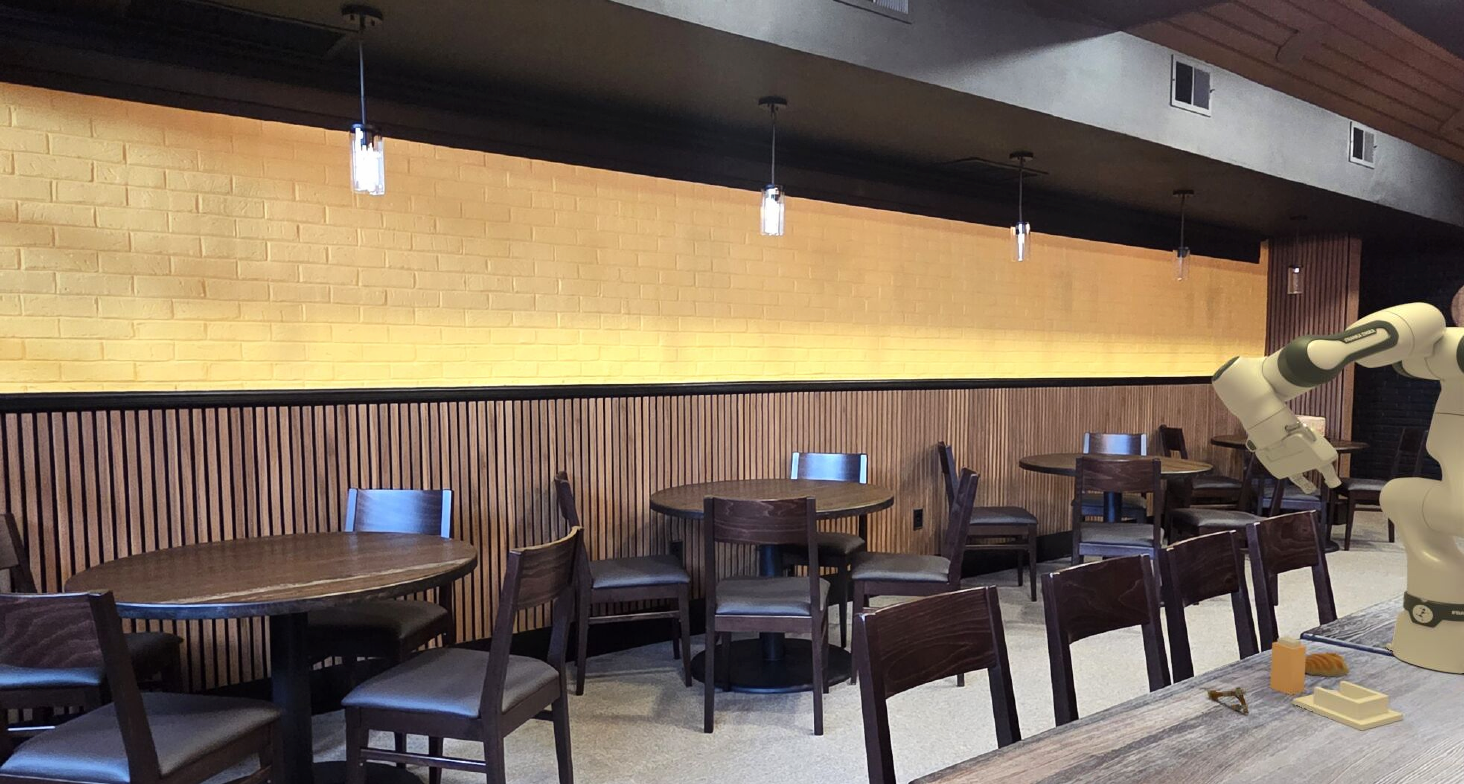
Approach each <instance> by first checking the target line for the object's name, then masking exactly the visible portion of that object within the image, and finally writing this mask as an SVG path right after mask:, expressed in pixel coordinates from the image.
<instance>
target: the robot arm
mask: <svg viewBox="0 0 1464 784" xmlns="http://www.w3.org/2000/svg"><path fill="white" fill-rule="evenodd" d="M1352 363H1357V364H1358V365H1361V366H1362V367H1366V368H1370V369H1371V368H1379V367H1384V366H1389V365H1392V368H1393V369H1394V370H1395V371H1396V372H1397V373H1398V374H1399V375H1402V376H1404V377H1408V378H1412V379H1427V380H1435V381H1436V380H1437V381H1439V383H1440V387H1441V391H1440V392H1439V396H1438V399H1437V401H1436V403H1435V407H1434V411H1433V414H1432V419H1431V423H1430V427H1429V430H1428V434H1427V439H1426V442H1425V443H1426V444H1425V448H1426V451H1427V453H1428V455H1430V457H1432V458H1433V459H1434V460H1436V461H1437V462H1438V463H1439V465H1440V469H1441V475H1442V477H1441V480H1437V479H1431V478H1425V477H1424V478H1423V477H1419V476H1418V477H1399V478H1393V479H1391V480H1389V481H1388V482H1387V483H1386V484H1385V485H1384V486H1383V487H1382V489H1381V490H1380V493H1379V505H1380V509H1381V511H1382V513H1383V514H1384V515H1385V516H1386V518H1388V519H1389V520H1390V521H1391V522H1392V523H1393V525H1394V527H1395V528H1396V530H1397V532H1398V534H1399V535H1400V538H1401V540H1402V543H1403V546H1404V549H1405V553H1406V564H1407V565H1406V567H1407V569H1406V572H1407V573H1406V574H1407V575H1406V576H1407V577H1406V590H1405V591H1404V593H1403V597H1402V602H1403V603H1402V608H1403V609H1404V610H1403V611H1401V612H1399V613H1397V614H1396V619H1395V625H1394V631H1393V637H1392V642H1387V643H1386V647H1387V648H1388V649H1389V650H1388V649H1387V648H1386V647H1385V648H1386V649H1387V650H1388V651H1390V650H1392V651H1393V652H1392V651H1391V652H1392V654H1393V656H1395V657H1396V658H1397V659H1399V660H1401V661H1403V662H1406V663H1409V664H1411V665H1415V666H1419V667H1422V668H1425V669H1429V670H1434V671H1438V672H1445V673H1452V674H1462V673H1464V553H1463V552H1462V551H1461V550H1460V548H1459V547H1458V545H1457V544H1456V541H1455V539H1454V536H1455V537H1459V538H1462V539H1463V538H1464V326H1462V327H1460V326H1459V327H1457V326H1455V327H1453V326H1452V327H1447V326H1446V319H1445V316H1444V315H1443V314H1442V312H1441V311H1440V309H1438V308H1437V307H1435V305H1432V304H1430V303H1426V302H1412V303H1404V304H1399V305H1395V306H1391V307H1388V308H1384V309H1381V310H1378V311H1375V312H1373V313H1370V314H1368V315H1366V316H1364V317H1362V318H1361V319H1358V320H1357V321H1355V322H1354V323H1352V324H1351V325H1349V326H1348V327H1347V328H1346V329H1345V330H1344V331H1341V332H1337V333H1335V334H1334V333H1333V334H1304V335H1300V336H1298V337H1295V338H1294V339H1293V340H1291V341H1290V342H1289V343H1287V344H1286V345H1285V346H1284V347H1281V348H1279V350H1277V351H1276V352H1274V353H1272V354H1271V355H1269V356H1268V355H1266V356H1261V357H1244V356H1242V355H1238V356H1235V357H1233V358H1231V359H1230V360H1228V361H1226V363H1224V364H1223V365H1221V366H1220V367H1219V368H1218V369H1217V370H1216V371H1215V372H1214V373H1213V375H1212V377H1211V384H1212V387H1213V388H1214V391H1215V393H1216V394H1217V396H1218V397H1219V398H1220V400H1221V401H1222V403H1223V404H1224V405H1225V407H1226V408H1227V409H1228V411H1229V412H1230V413H1231V414H1232V415H1234V416H1235V417H1236V418H1238V420H1239V422H1241V425H1242V427H1243V429H1244V430H1245V432H1246V433H1247V434H1248V436H1247V439H1246V442H1245V446H1246V448H1247V449H1248V451H1250V452H1252V453H1254V452H1255V453H1254V454H1255V456H1256V457H1257V459H1258V460H1259V462H1260V463H1261V464H1262V465H1263V466H1264V467H1265V468H1266V469H1267V471H1268V472H1269V473H1270V474H1271V475H1272V476H1274V477H1275V478H1277V479H1278V480H1282V479H1285V478H1289V480H1290V481H1291V482H1292V483H1294V484H1295V485H1297V486H1298V487H1300V489H1301V490H1302V491H1303V492H1304V493H1305V494H1306V495H1309V494H1311V493H1314V492H1316V490H1317V487H1316V485H1315V484H1314V483H1313V482H1312V481H1310V480H1308V479H1307V478H1306V477H1305V476H1304V474H1303V473H1305V472H1309V471H1312V470H1316V471H1318V472H1319V474H1322V476H1323V478H1324V479H1325V480H1324V483H1325V484H1326V485H1327V486H1328V488H1329V489H1333V488H1337V487H1338V486H1340V485H1341V484H1342V481H1341V479H1339V477H1338V476H1337V474H1336V470H1335V468H1334V465H1333V464H1332V463H1333V462H1334V461H1336V460H1337V459H1338V458H1339V454H1338V452H1337V450H1336V449H1335V447H1333V445H1332V444H1331V443H1330V442H1329V441H1328V440H1327V439H1326V438H1325V437H1324V436H1323V435H1322V434H1321V433H1320V432H1319V431H1318V430H1317V429H1316V428H1314V427H1312V426H1309V425H1307V424H1304V423H1302V421H1300V419H1299V418H1298V416H1296V414H1295V413H1294V412H1293V410H1291V408H1290V407H1289V406H1288V404H1286V402H1288V401H1291V400H1293V399H1296V398H1297V397H1299V396H1301V395H1303V394H1305V393H1307V392H1309V391H1310V390H1312V389H1315V388H1318V387H1319V386H1322V385H1325V384H1327V383H1330V382H1331V381H1334V379H1336V378H1337V377H1338V376H1339V375H1340V374H1341V372H1342V371H1343V370H1344V368H1345V367H1346V366H1347V365H1350V364H1352Z"/></svg>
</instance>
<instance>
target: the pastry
mask: <svg viewBox="0 0 1464 784" xmlns="http://www.w3.org/2000/svg"><path fill="white" fill-rule="evenodd" d="M1349 673H1350V669H1349V667H1348V663H1346V662H1345V659H1344V658H1343V657H1342V656H1341V655H1340V654H1338V653H1335V652H1325V653H1321V652H1319V653H1311V654H1309V655H1308V656H1306V661H1305V674H1308V675H1311V676H1319V677H1320V676H1321V677H1327V676H1330V677H1344V676H1347V674H1349Z"/></svg>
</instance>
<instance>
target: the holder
mask: <svg viewBox="0 0 1464 784" xmlns="http://www.w3.org/2000/svg"><path fill="white" fill-rule="evenodd" d="M1389 703H1390V695H1387V694H1385V693H1382V692H1379V691H1375V690H1373V689H1370V688H1366V687H1364V686H1361V685H1358V684H1355V683H1351V682H1349V681H1346V680H1341V681H1340V682H1339V691H1338V690H1335V689H1332V690H1331V689H1330V690H1329V689H1326V688H1323V687H1321V686H1315V687H1314V688H1313V694H1310V695H1306V696H1300V697H1296V698H1293V699H1292V705H1293V704H1294V705H1293V706H1296V705H1298V706H1300V707H1299V708H1301V707H1302V709H1304V708H1306V709H1307V711H1310V712H1311V711H1313V712H1312V713H1315V714H1317V715H1319V714H1320V715H1319V716H1322V717H1324V716H1326V717H1325V718H1327V717H1328V719H1329V720H1332V719H1333V720H1332V721H1336V722H1337V723H1339V724H1340V723H1341V724H1343V725H1346V726H1349V727H1351V728H1354V729H1356V730H1359V731H1361V732H1362V731H1365V730H1370V729H1372V728H1376V727H1380V726H1384V725H1387V724H1388V725H1389V724H1391V723H1397V722H1399V721H1403V719H1404V718H1403V717H1404V714H1402V713H1401V712H1397V711H1395V710H1392V709H1390V708H1389ZM1298 706H1297V707H1298ZM1306 709H1305V710H1306Z"/></svg>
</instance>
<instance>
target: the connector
mask: <svg viewBox="0 0 1464 784" xmlns="http://www.w3.org/2000/svg"><path fill="white" fill-rule="evenodd" d="M1271 643H1272V646H1271V663H1270V664H1271V665H1270V666H1271V667H1270V684H1269V685H1270V688H1271V689H1272V690H1275V691H1278V692H1280V691H1281V693H1284V694H1286V693H1287V694H1286V695H1288V694H1289V696H1293V694H1294V695H1297V694H1296V693H1299V694H1302V693H1301V692H1303V693H1305V677H1306V673H1305V661H1306V657H1307V656H1306V655H1307V646H1305V645H1302V640H1300V639H1297V638H1293V637H1289V636H1282V637H1278V638H1277V641H1275V642H1271Z"/></svg>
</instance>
